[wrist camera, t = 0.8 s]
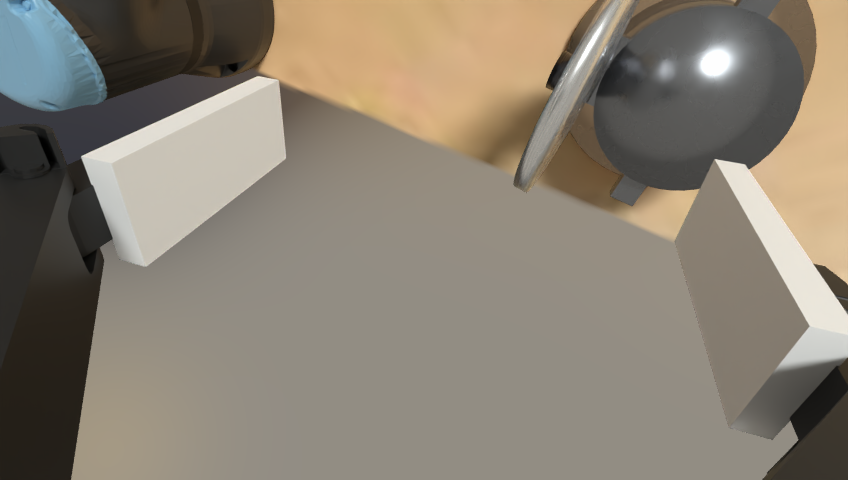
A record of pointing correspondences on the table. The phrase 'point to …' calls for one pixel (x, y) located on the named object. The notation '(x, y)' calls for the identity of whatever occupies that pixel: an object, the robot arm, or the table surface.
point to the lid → (573, 87)
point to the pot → (695, 89)
